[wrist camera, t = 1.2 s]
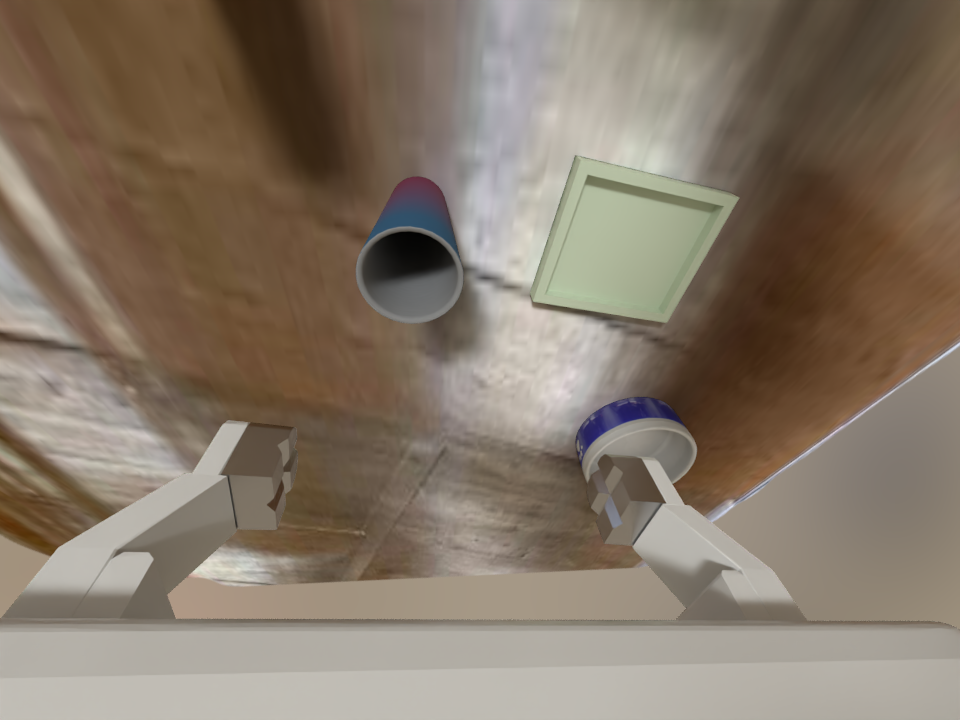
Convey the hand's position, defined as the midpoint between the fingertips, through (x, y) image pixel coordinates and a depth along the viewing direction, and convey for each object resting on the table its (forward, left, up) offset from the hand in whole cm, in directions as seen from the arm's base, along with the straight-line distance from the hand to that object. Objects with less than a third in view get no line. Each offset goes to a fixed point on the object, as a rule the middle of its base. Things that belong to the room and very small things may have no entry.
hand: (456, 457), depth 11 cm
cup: (+4, -2, -32) cm, 33 cm away
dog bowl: (+31, +32, -33) cm, 55 cm away
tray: (+4, +19, -32) cm, 38 cm away
